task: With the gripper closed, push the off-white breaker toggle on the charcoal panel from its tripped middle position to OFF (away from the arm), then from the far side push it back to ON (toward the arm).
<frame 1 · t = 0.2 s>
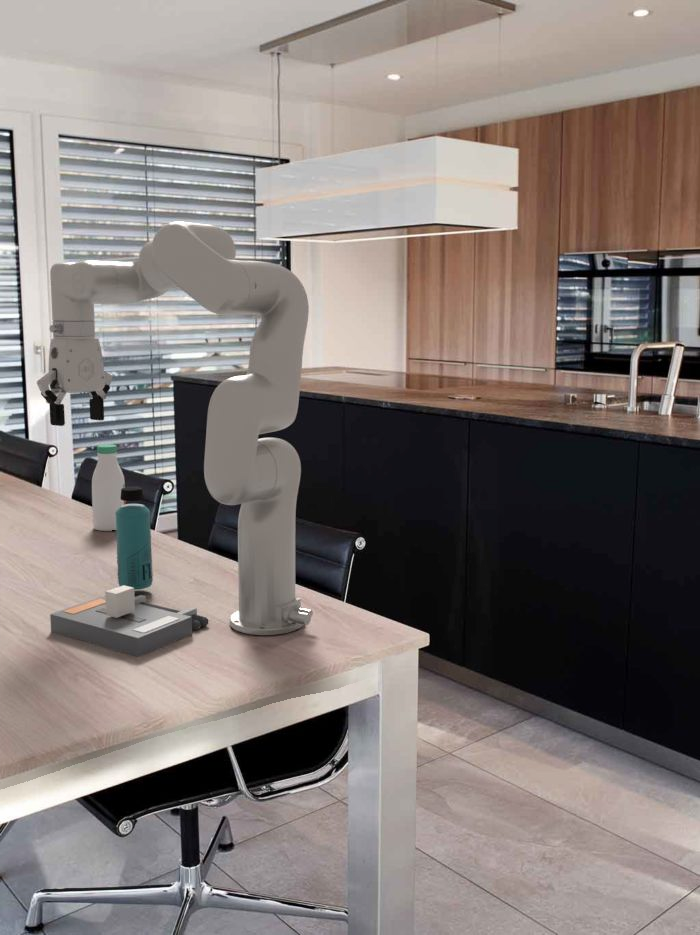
hand: (77, 422, 179), 31 cm above the table, fingers open, 9 cm apart
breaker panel: (121, 632, 156), on the table
beverage bottle: (135, 593, 177), on the table
breaker toggle: (120, 601, 155), point 5 cm above the table, slide at 0.0 cm
dressed cords: (160, 611, 163), on the table
milk bottle: (110, 528, 227), on the table
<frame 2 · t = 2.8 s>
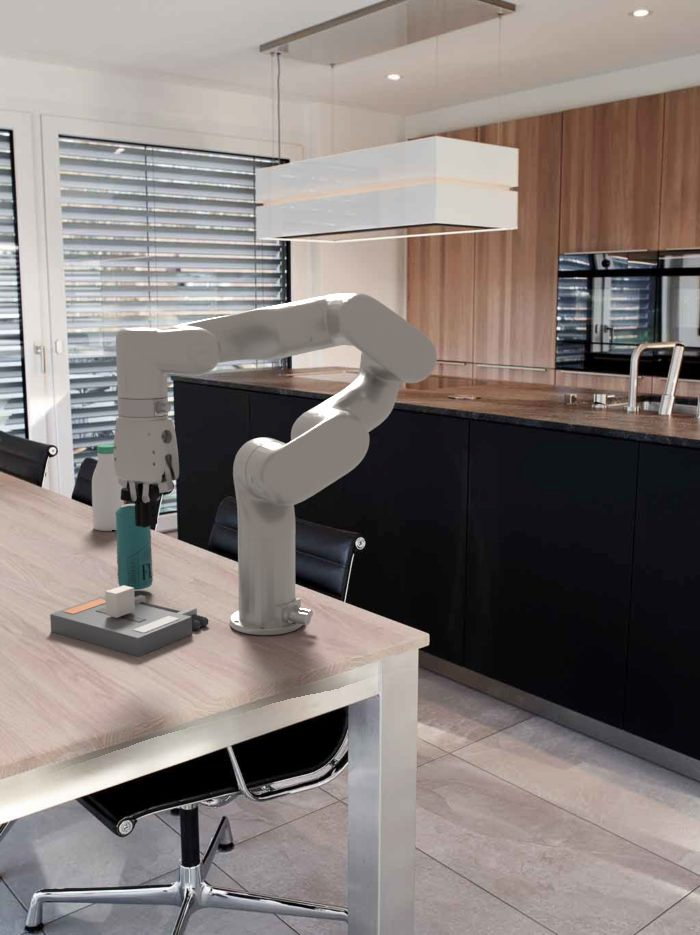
hand: (146, 525, 149), 19 cm above the table, fingers closed
nothing on the table moved.
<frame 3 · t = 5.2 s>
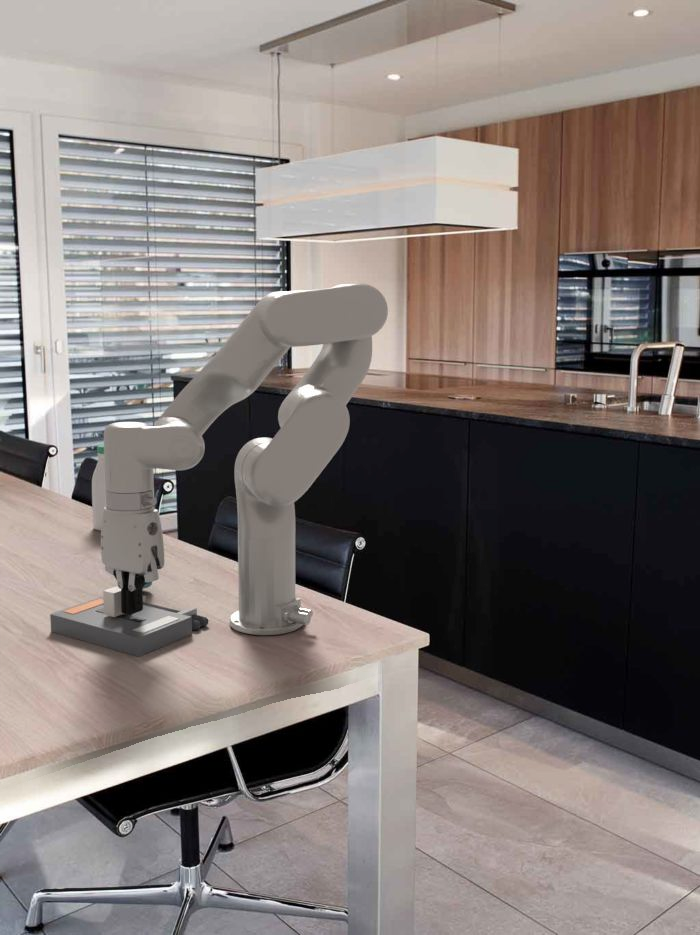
hand: (132, 611, 153), 4 cm above the table, fingers closed
breaker toggle: (117, 600, 155), point 5 cm above the table, slide at 0.5 cm, touching gripper
everything else where it was.
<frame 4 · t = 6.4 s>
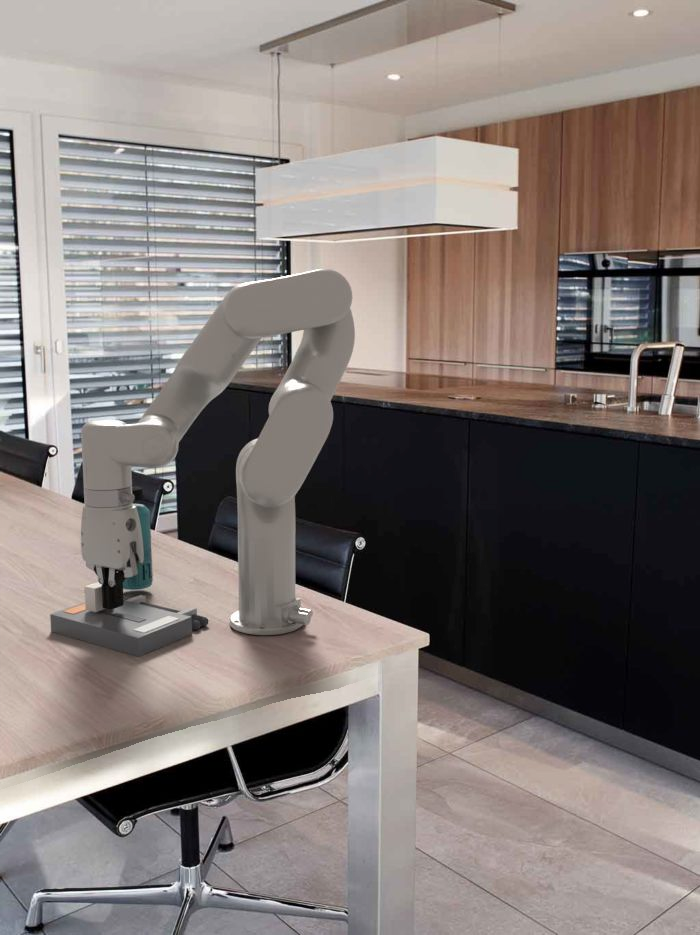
hand: (113, 606, 156), 4 cm above the table, fingers closed
breaker toggle: (99, 596, 157), point 5 cm above the table, slide at 4.9 cm, touching gripper
everything else where it was.
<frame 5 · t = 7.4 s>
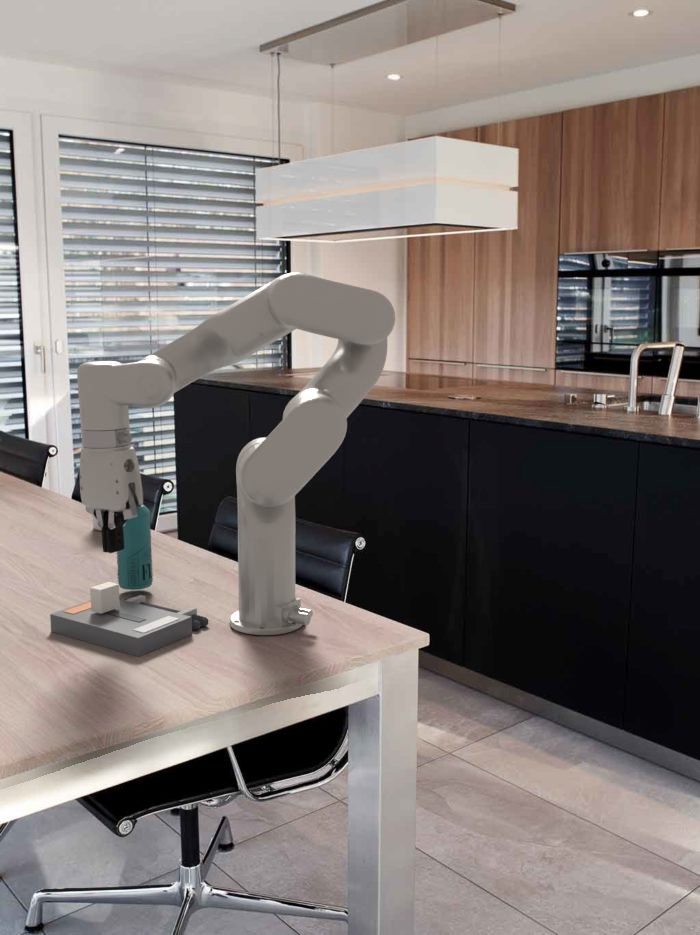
hand: (113, 550, 154), 14 cm above the table, fingers closed
breaker toggle: (105, 597, 157), point 5 cm above the table, slide at 3.5 cm
everything else where it was.
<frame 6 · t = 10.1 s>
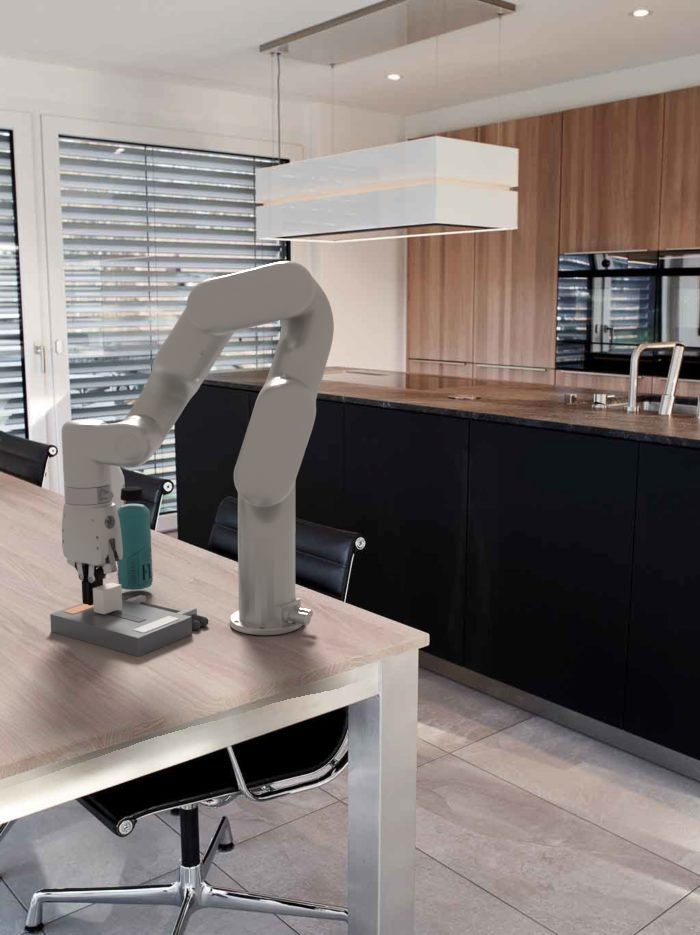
hand: (93, 602, 159), 4 cm above the table, fingers closed
breaker toggle: (107, 598, 156), point 5 cm above the table, slide at 2.9 cm, touching gripper
everything else where it was.
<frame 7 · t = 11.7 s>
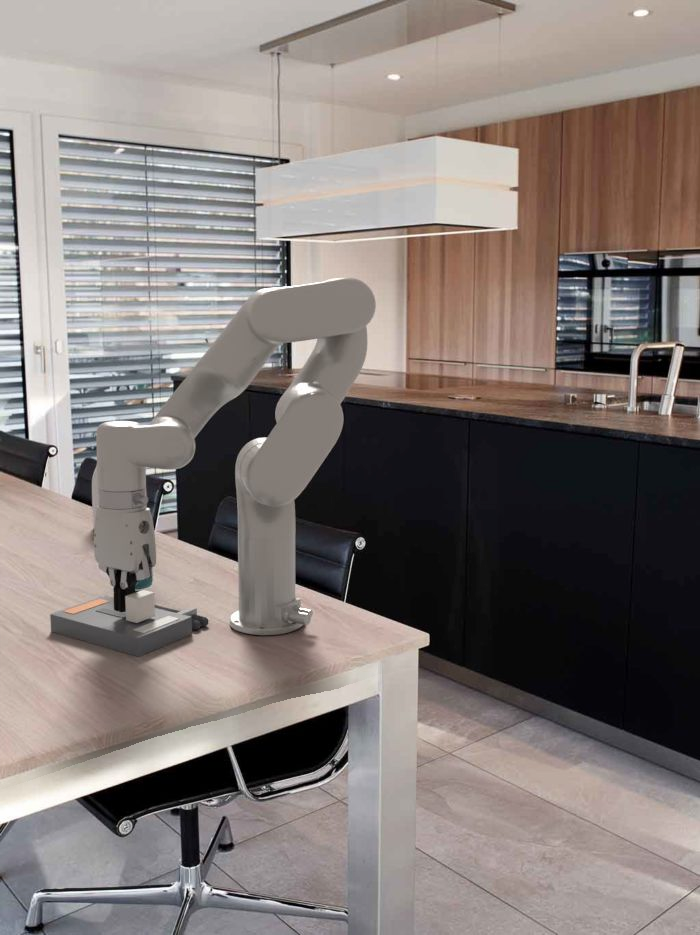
hand: (124, 609, 154), 4 cm above the table, fingers closed
breaker toggle: (140, 606, 152), point 5 cm above the table, slide at -4.5 cm, touching gripper
everything else where it was.
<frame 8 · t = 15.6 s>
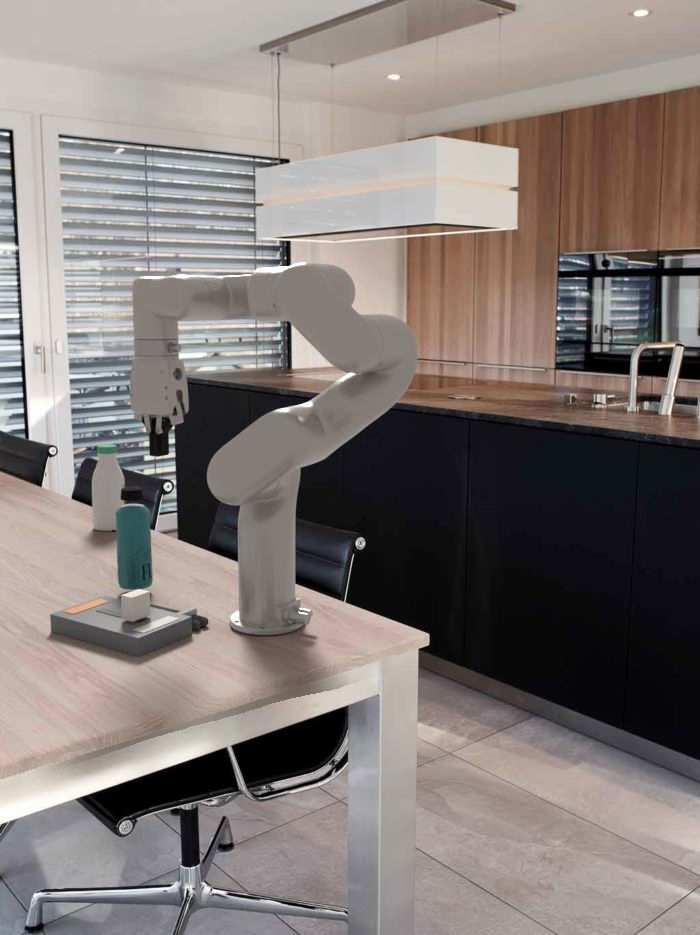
hand: (159, 455, 166), 27 cm above the table, fingers closed
breaker toggle: (135, 605, 153), point 5 cm above the table, slide at -3.5 cm
everything else where it was.
at the end: breaker toggle slide at -3.5 cm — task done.
